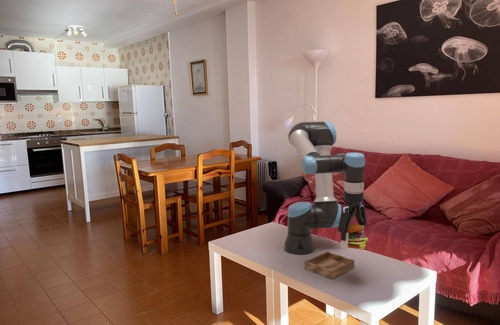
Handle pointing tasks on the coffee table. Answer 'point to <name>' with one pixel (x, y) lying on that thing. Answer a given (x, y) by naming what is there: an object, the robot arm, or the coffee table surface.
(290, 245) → the robot arm
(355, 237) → the cheeseburger
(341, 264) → the crate
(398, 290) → the coffee table surface
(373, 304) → the coffee table surface
